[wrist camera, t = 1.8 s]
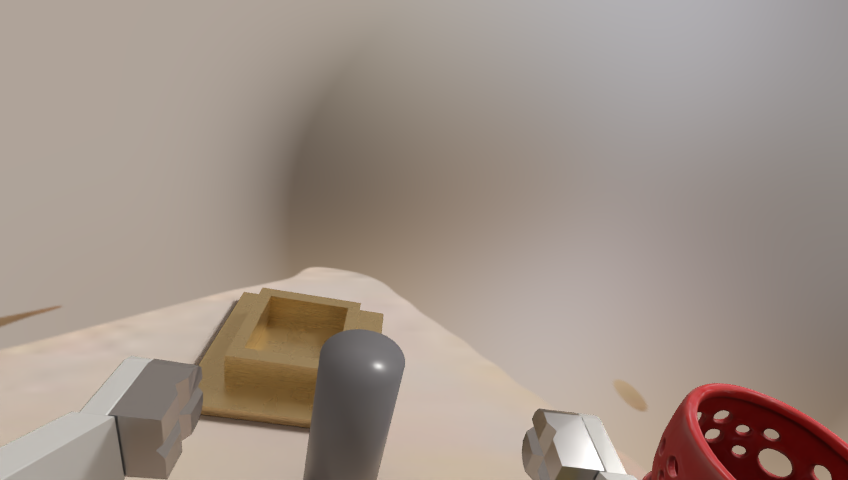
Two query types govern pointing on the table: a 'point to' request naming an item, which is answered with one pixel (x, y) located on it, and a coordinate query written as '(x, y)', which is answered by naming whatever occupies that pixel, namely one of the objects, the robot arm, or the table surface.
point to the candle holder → (274, 355)
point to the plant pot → (743, 439)
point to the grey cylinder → (353, 405)
